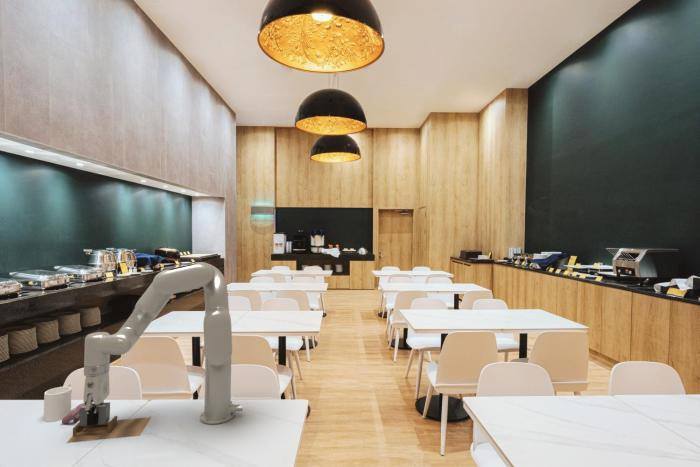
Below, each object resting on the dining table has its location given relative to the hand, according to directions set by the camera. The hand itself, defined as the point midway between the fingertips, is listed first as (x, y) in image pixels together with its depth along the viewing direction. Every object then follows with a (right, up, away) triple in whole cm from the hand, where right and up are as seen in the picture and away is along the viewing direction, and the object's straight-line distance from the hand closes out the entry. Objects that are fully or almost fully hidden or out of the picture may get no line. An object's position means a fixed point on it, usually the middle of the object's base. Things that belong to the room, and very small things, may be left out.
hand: (95, 421), depth 132 cm
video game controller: (-13, -5, +11) cm, 18 cm away
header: (+5, -4, +1) cm, 7 cm away
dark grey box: (0, -1, 0) cm, 1 cm away
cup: (-23, -5, +14) cm, 27 cm away
